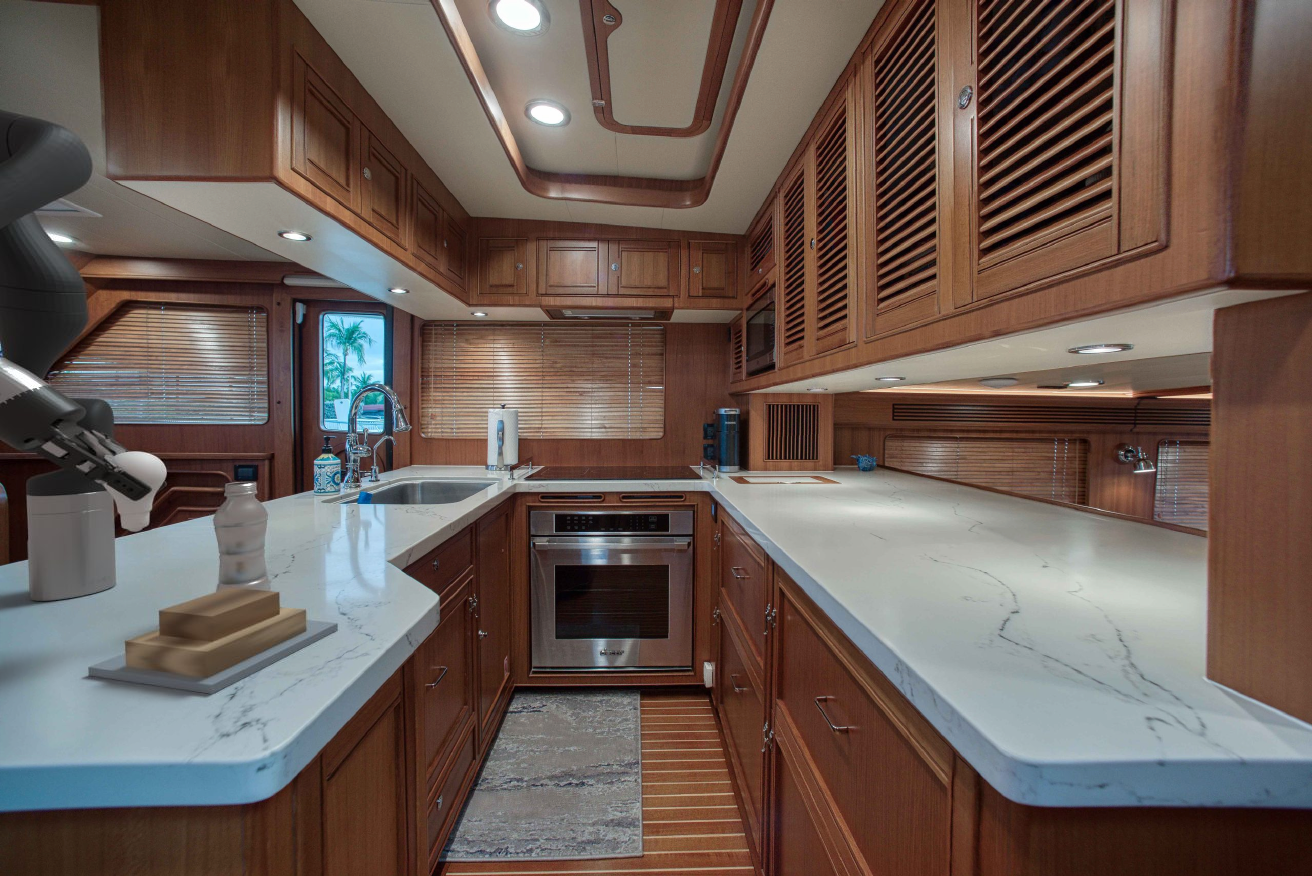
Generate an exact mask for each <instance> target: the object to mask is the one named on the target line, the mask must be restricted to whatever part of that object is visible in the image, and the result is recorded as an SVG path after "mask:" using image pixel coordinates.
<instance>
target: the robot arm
mask: <svg viewBox="0 0 1312 876" xmlns="http://www.w3.org/2000/svg"><path fill="white" fill-rule="evenodd" d="M93 167H94V166H93V159H92V156H91V153H90V151H89V148H88V147H87V145H86V144H85V143H84V141H83V140H82V139H81V138H80V137H79V136H78V135H77V134H76V133H75V132H73V131H72V130H70V129H68V128H66V127H65V126H62V125H60V124H57V123H54V122H52V121H48V120H46V119H41V118H39V117H33V116H28V115H25V114H20V113H16V112H11V111H8V110H3V109H0V350H1V354H0V440H1V441H2V442H4V443H6V444H7V445H8V446H10V447H12V448H14V449H15V450H18V451H20V452H23V453H33V454H35V453H36V455H38V456H40V457H42V458H45V459H46V460H48V461H50V462H52V463H54V464H55V465H57V466H59V467H61V468H60V469H56V470H53V471H49V472H45V473H42V474H37V475H35V476H31V477H30V478H29V479H27V481H26V488H25V489H26V490H25V491H26V509H27V511H26V512H27V530H28V531H27V535H28V537H27V538H28V540H27V560H28V561H27V563H28V564H27V565H28V586H29V587H28V590H29V593H28V594H29V596H30V600H32V601H36V602H37V601H39V602H40V601H41V602H46V601H56V600H65V599H72V598H78V597H83V596H86V595H88V596H89V595H90V594H91V595H92V594H95V593H99V592H103V591H106V590H107V589H110V588H113V587H115V586H116V585H117V575H116V574H117V572H116V570H117V569H116V562H117V561H116V534H115V508H114V507H115V506H114V498H113V496H112V495H111V494H110V493H109V491H108V490H107V489H106V488H105V487H104V485H103V484H105V483H106V482H107V485H108V486H110V487H112V488H113V489H115V490H116V491H118V492H120V493H121V494H123V495H125V496H126V497H128V498H129V499H131V500H133V501H138V500H140V499H142V498H143V497H145V496H146V495H147V494H149V493H150V492H151V491H152V488H151V487H150V486H148V485H147V484H145V483H144V482H142V481H140V480H139V479H137V478H135V477H134V476H132V475H130V474H129V473H127V472H126V471H123V469H122V468H121V467H120V466H119V465H117V464H116V463H115V462H114V461H112V458H113V456H115V455H118V454H121V453H125V452H132V451H131V450H129V449H128V448H126V447H125V446H124V445H122V444H121V443H120V442H118V441H117V440H115V439H114V437H115V436H114V435H115V416H114V411H113V409H112V406H111V404H109V403H108V402H107V401H106V400H103V399H99V398H89V397H88V398H86V397H85V398H83V397H79V398H78V397H69V396H67V395H65V394H64V393H63V392H61V391H59V390H58V389H57V388H55V387H54V386H52V385H50V384H49V383H48V382H46V381H44V380H45V377H46V375H47V374H48V372H49V370H50V369H51V368H52V366H53V364H54V363H55V362H56V360H57V359H58V358H60V356H61V355H62V354H63V353H64V352H65V351H66V350H67V349H68V348H69V347H70V346H71V345H72V344H73V343H74V342H75V341H76V340H77V339H78V338H79V336H81V334H82V333H83V331H84V330H85V328H86V327H87V326H88V323H89V319H90V318H89V311H88V310H89V308H88V300H87V292H86V291H87V290H86V285H85V282H84V278H83V277H82V275H81V274H80V272H79V271H78V270H77V268H76V267H75V265H74V264H73V263H72V261H71V260H70V259H69V258H68V256H67V255H66V254H65V253H64V252H63V250H62V249H61V248H60V247H59V246H58V244H56V242H54V240H53V239H52V238H51V236H50V235H49V234H48V233H47V232H46V230H45V229H44V228H43V226H42V224H41V222H40V221H39V219H38V218H37V217H38V216H37V215H36V212H35V211H37V210H39V209H41V208H44V207H45V206H47V205H49V204H51V203H53V202H55V201H58V200H60V199H62V198H64V197H66V196H68V195H71V194H73V193H74V192H77V191H78V190H79V189H82V187H84V186H85V185H86V184H87V183H88V182H89V180H90V179H91V177H92V173H93ZM121 471H123V472H122V473H121ZM167 485H168V484H167V481H166V480H164V482H163V483H162V485H161V487H160V488H159V489H158V491H157V492H156V494H158V492H160V491H161V490H162V489H164V488H165V487H166V486H167Z"/></svg>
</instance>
